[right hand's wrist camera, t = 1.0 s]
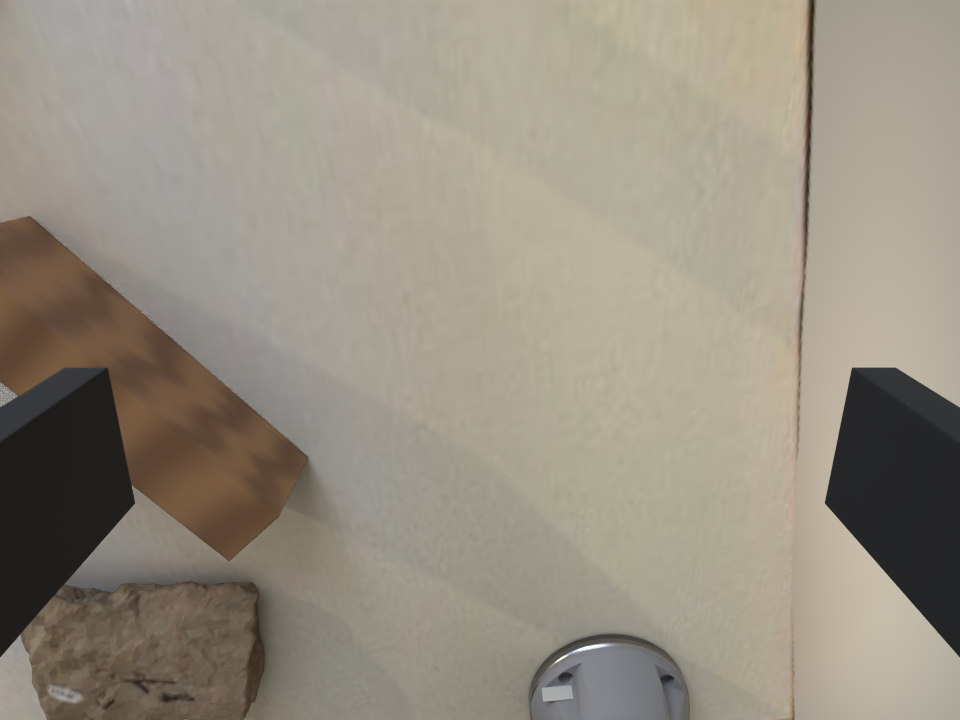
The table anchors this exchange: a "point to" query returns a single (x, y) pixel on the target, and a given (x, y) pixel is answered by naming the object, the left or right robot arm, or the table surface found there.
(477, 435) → the table surface
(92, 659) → the stone
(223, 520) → the bar
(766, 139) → the table surface
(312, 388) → the table surface
